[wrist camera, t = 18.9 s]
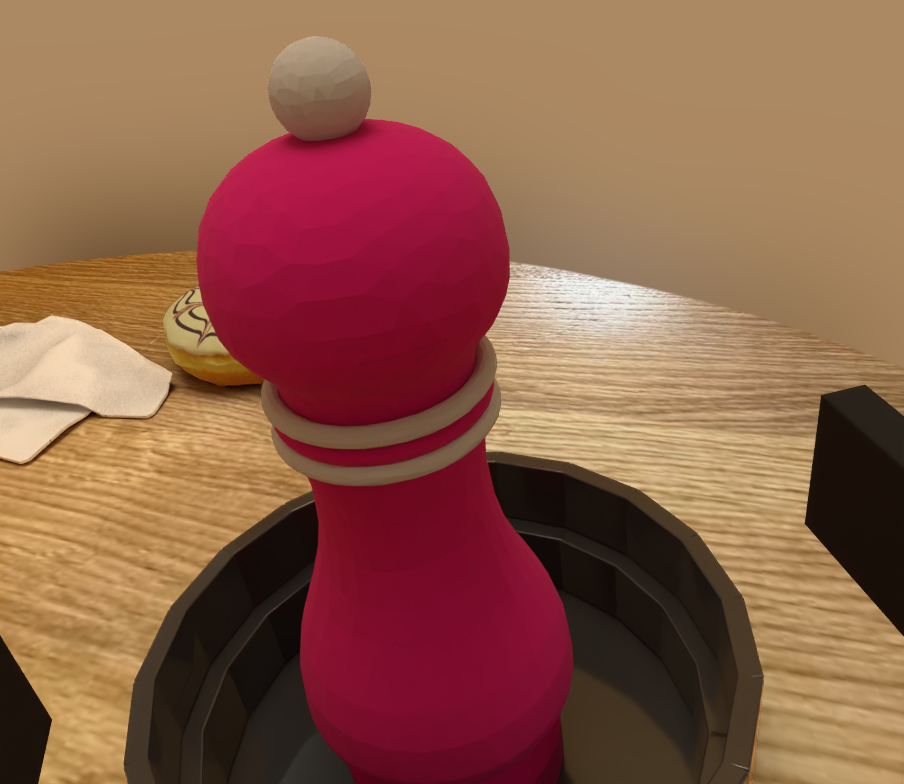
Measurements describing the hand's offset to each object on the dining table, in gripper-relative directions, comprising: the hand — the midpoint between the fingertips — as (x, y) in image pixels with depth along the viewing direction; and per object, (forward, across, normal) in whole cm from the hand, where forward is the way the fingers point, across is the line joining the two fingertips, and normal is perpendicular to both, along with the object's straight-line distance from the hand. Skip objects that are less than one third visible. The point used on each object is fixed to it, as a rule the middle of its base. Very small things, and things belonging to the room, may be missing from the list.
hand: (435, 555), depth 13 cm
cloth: (+38, -21, -14) cm, 46 cm away
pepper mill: (+6, 0, -13) cm, 14 cm away
